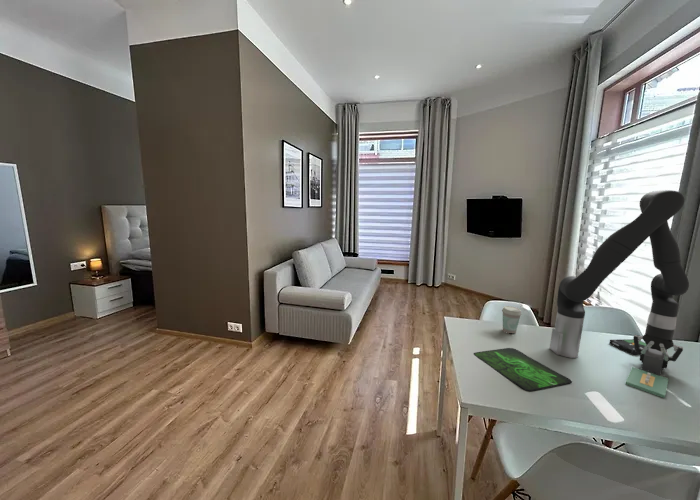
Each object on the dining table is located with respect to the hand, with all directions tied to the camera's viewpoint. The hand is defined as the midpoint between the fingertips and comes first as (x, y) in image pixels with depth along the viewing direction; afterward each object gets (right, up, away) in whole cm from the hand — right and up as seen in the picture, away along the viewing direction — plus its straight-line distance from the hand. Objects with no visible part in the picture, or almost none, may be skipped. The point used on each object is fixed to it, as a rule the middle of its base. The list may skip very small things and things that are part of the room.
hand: (652, 365), depth 116 cm
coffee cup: (-41, +5, +29) cm, 51 cm away
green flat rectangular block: (-14, -2, -11) cm, 18 cm away
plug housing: (0, -1, 0) cm, 1 cm away
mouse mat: (-56, 0, -3) cm, 56 cm away
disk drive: (+8, 0, +16) cm, 18 cm away
